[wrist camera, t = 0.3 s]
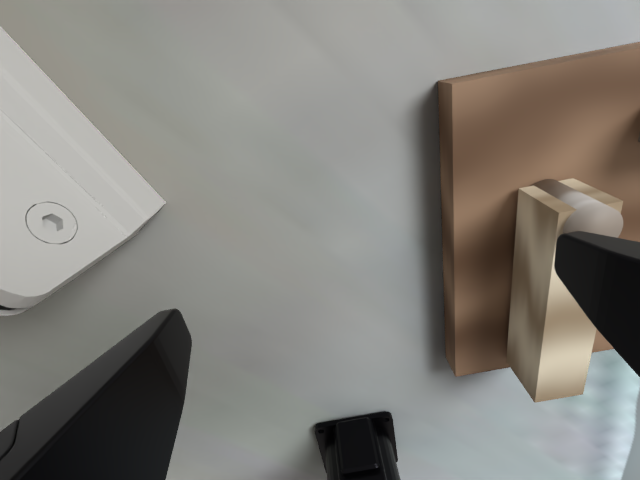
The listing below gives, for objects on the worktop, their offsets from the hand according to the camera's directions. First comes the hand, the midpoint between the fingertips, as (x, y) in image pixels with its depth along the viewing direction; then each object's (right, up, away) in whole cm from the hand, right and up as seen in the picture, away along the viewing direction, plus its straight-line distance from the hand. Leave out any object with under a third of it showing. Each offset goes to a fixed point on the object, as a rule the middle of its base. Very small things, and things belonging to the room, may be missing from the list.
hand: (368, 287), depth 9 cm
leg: (+12, -1, +15) cm, 19 cm away
